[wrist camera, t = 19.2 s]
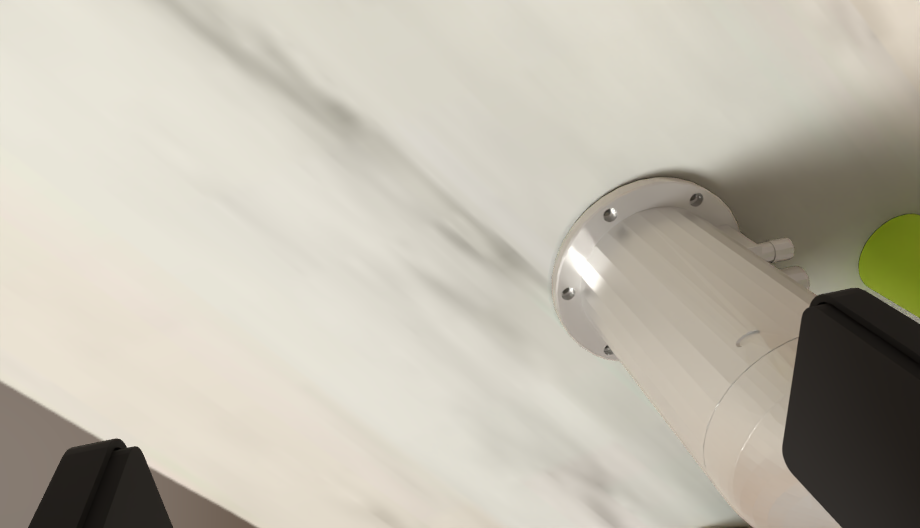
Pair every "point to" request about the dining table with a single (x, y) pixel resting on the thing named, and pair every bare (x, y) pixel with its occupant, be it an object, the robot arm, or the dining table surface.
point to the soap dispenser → (894, 262)
